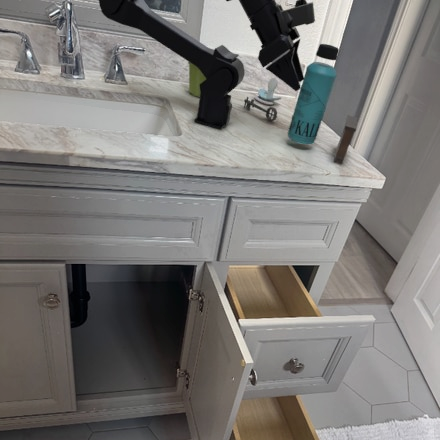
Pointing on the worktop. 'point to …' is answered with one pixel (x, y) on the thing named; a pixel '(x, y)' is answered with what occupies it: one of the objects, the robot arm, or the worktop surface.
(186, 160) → the worktop surface
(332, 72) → the beverage bottle
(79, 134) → the worktop surface
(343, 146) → the dark brown flat block
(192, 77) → the plant pot
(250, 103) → the key
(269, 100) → the pacifier
